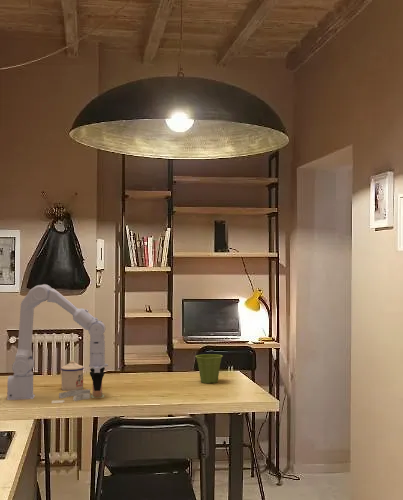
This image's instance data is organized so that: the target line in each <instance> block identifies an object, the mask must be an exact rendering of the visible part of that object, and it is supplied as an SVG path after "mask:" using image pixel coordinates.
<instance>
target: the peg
mask: <svg viewBox="0 0 403 500" xmlns="http://www.w3.org/2000/svg"><path fill="white" fill-rule="evenodd" d="M92 395H93V397H99V398H102V397H101V396H102V395H103V382H102V383H101V389H100V391H95V390H94V386H93V385H92Z"/></svg>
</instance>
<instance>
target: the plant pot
mask: <svg viewBox="0 0 403 500" xmlns="http://www.w3.org/2000/svg"><path fill="white" fill-rule="evenodd" d="M223 357H224V355H222V354H213V353H212V354H211V353H208V354H205V353H204V354H197V355H195V359H196V363H197V367H198V370H199V373H198V374H199V379H200V382H201V383H202V384H211V383H213V384H216V383H218V382H219V377H220V376H219V375H220V368H221V363H222V358H223Z"/></svg>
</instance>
